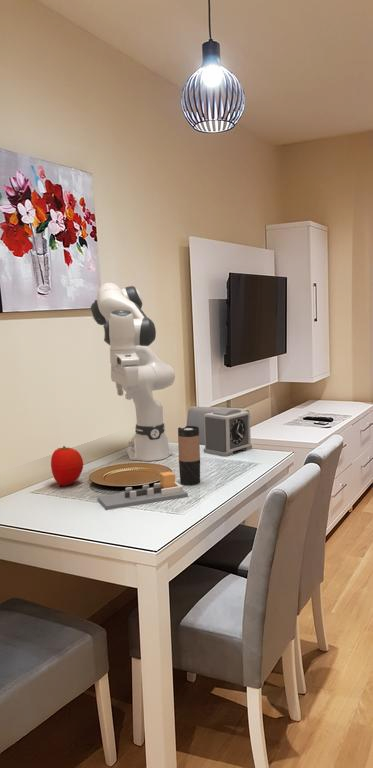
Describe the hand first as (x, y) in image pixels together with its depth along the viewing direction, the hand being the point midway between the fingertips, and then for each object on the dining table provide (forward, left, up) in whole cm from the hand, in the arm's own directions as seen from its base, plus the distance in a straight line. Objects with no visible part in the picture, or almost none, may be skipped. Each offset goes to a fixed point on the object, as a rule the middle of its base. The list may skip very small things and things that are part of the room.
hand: (124, 397), depth 217 cm
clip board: (+14, 0, -32) cm, 35 cm away
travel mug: (+5, +21, -33) cm, 39 cm away
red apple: (-15, -19, -33) cm, 40 cm away
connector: (+14, +3, -31) cm, 34 cm away
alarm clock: (-31, +54, -33) cm, 70 cm away
